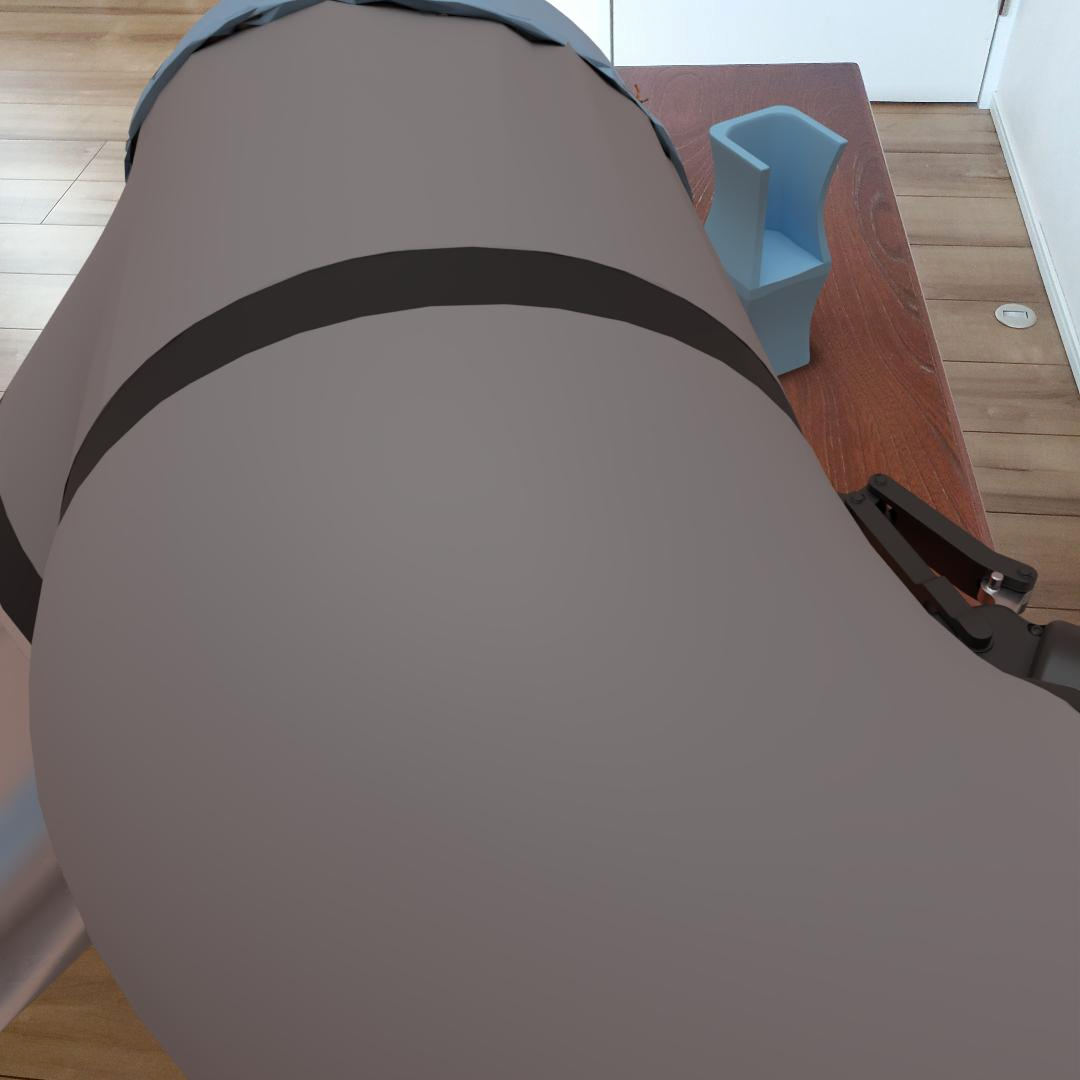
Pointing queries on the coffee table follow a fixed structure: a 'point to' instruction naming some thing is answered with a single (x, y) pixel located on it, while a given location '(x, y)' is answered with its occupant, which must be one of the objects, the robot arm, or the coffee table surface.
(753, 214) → the blue high-backed chair
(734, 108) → the coffee table surface
